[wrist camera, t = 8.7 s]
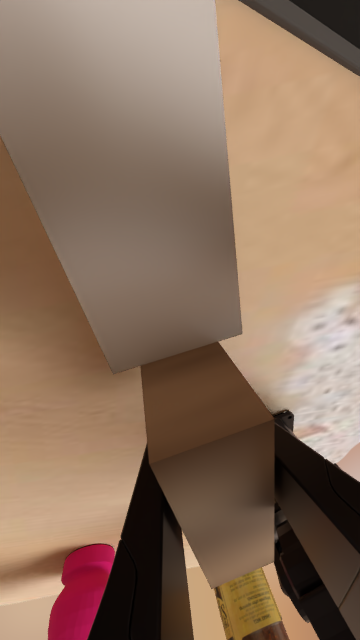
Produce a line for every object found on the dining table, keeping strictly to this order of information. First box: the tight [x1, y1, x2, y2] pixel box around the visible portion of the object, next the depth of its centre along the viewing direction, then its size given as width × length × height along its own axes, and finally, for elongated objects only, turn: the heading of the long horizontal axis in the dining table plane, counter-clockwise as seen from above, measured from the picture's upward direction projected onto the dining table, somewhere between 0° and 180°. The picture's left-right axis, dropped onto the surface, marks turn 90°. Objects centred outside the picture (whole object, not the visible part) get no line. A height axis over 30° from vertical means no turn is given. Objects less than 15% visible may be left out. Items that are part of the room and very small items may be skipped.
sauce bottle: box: [214, 567, 289, 640], centre depth 23 cm, size 7×6×20 cm
